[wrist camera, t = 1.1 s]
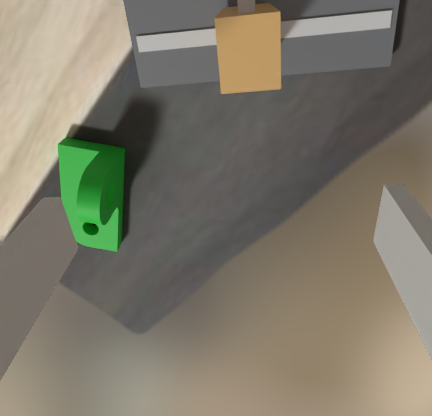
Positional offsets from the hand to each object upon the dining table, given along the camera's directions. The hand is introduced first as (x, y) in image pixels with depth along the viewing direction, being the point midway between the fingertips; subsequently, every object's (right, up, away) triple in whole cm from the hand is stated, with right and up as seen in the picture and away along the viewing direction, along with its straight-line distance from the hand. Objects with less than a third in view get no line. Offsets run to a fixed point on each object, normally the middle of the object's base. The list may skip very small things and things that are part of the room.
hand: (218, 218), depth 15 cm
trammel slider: (+2, +16, +12) cm, 21 cm away
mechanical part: (-13, +2, +25) cm, 28 cm away
